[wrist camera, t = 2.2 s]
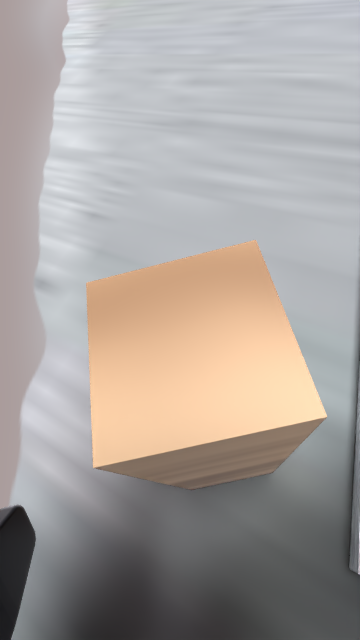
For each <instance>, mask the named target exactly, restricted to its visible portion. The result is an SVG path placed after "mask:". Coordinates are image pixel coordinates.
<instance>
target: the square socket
mask: <svg viewBox="0 0 360 640" xmlns="http://www.w3.org/2000/svg"><path fill="white" fill-rule="evenodd" d="M349 569H351V570H352V571H354V572H356V573H357V574H360V363H359V383H358V403H357V423H356V442H355V462H354V482H353V502H352V522H351V542H350V562H349Z"/></svg>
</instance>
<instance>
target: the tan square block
mask: <svg viewBox="0 0 360 640" xmlns="http://www.w3.org/2000/svg"><path fill="white" fill-rule="evenodd" d="M86 288H87V315H88V342H89V369H90V396H91V422H92V449H93V468H96V469H100V470H105V471H109V472H113V473H118V474H122V475H127V476H131V477H136V478H140V479H145V480H149V481H154V482H158V483H163V484H167V485H171V486H176V487H180V488H185V489H189V490H193V489H198V488H203V487H208V486H212V485H217V484H222V483H227V482H232V481H236V480H241V479H246V478H251V477H255V476H260V475H265V474H270V473H273V472H274V471H275V470H276V469H277V468H278V467H279V466H280V465H281V464H282V463H283V462H284V461H285V460H286V459H287V457H288V456H289V455H290V454H291V453H292V452H293V451H294V450H295V449H296V448H297V447H298V446H299V445H300V444H301V443H302V442H303V441H304V440H305V439H306V438H307V437H308V436H309V435H310V434H311V433H312V432H313V431H314V430H315V429H316V428H317V427H318V426H319V425H320V424H321V423H322V422H323V421H324V420H325V419H326V418H327V415H326V413H325V410H324V408H323V405H322V403H321V400H320V398H319V395H318V393H317V390H316V388H315V385H314V383H313V380H312V378H311V375H310V373H309V371H308V368H307V366H306V363H305V361H304V358H303V356H302V353H301V351H300V348H299V346H298V343H297V341H296V338H295V336H294V333H293V331H292V328H291V326H290V323H289V321H288V318H287V316H286V313H285V311H284V308H283V306H282V304H281V301H280V299H279V296H278V294H277V291H276V289H275V286H274V284H273V281H272V279H271V276H270V274H269V271H268V269H267V266H266V264H265V261H264V259H263V256H262V254H261V251H260V249H259V246H258V244H257V241H256V240H253V241H249V242H245V243H242V244H238V245H234V246H230V247H226V248H222V249H218V250H214V251H210V252H206V253H202V254H198V255H194V256H190V257H186V258H182V259H178V260H175V261H171V262H167V263H163V264H159V265H155V266H151V267H147V268H143V269H139V270H135V271H131V272H127V273H123V274H119V275H115V276H111V277H108V278H104V279H100V280H96V281H92V282H88V283H86Z"/></svg>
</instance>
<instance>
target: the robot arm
mask: <svg viewBox="0 0 360 640" xmlns="http://www.w3.org/2000/svg"><path fill="white" fill-rule="evenodd" d="M35 541H36V536H35V531H34V529H33V526H32V524H31V522H30V520H29V518H28V516H27V514H26V511H25V509H24V508H23V507H22V506H21V505H13V506H9V507H4V508H2V509H0V640H11V637H12V634H13V631H14V627H15V624H16V620H17V616H18V613H19V609H20V605H21V600H22V596H23V592H24V588H25V584H26V580H27V576H28V572H29V568H30V563H31V559H32V555H33V551H34V547H35Z"/></svg>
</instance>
